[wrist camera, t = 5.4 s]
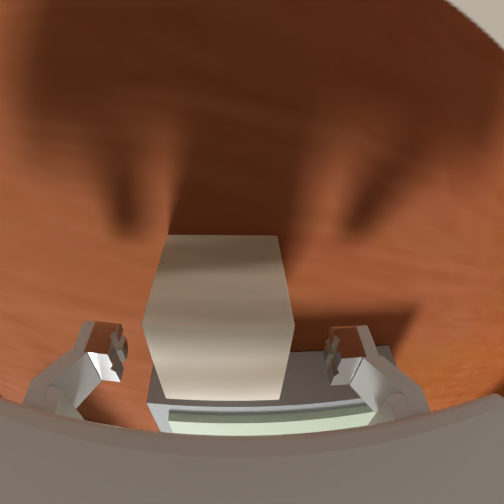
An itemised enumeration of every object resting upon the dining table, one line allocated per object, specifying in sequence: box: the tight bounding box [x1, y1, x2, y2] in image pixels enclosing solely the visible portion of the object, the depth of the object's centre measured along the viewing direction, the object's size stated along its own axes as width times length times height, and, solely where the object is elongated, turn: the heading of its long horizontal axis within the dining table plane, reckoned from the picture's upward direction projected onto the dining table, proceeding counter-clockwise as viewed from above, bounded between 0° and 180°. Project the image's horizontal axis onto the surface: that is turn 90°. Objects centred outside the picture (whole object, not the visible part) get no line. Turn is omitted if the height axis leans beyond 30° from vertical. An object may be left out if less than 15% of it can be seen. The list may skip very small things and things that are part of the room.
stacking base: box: [147, 345, 397, 436], centre depth 20 cm, size 13×14×4 cm
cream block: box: [142, 235, 295, 401], centre depth 12 cm, size 4×4×5 cm
